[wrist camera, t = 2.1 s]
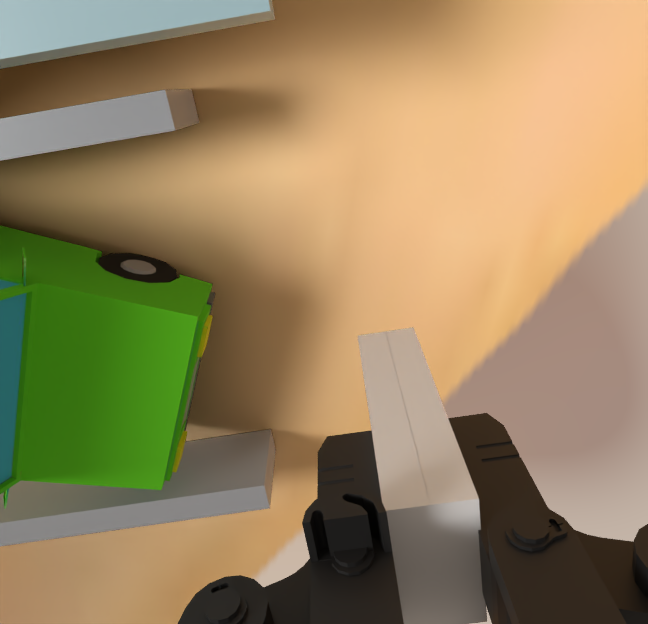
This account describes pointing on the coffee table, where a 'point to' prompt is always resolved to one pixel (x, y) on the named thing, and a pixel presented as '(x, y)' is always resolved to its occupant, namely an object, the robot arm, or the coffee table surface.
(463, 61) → the coffee table surface
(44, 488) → the grey long bars
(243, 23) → the cover
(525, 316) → the coffee table surface
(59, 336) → the toy car
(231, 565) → the coffee table surface
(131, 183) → the coffee table surface
